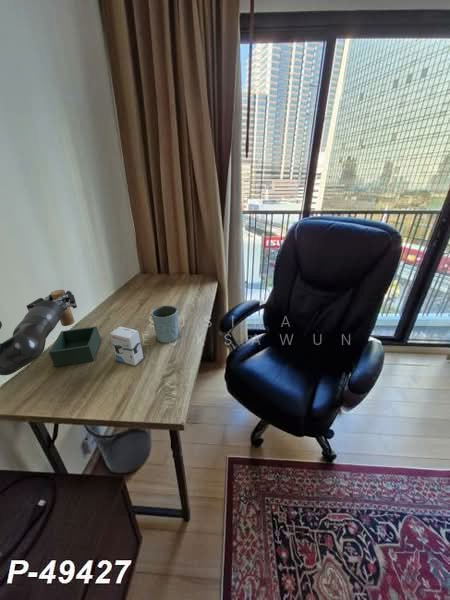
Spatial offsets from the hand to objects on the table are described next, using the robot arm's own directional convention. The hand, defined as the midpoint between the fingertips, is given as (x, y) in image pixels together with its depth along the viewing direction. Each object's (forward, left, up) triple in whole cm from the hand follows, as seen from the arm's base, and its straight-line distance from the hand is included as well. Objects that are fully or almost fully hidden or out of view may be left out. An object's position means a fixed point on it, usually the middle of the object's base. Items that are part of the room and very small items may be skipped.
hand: (62, 294), depth 86 cm
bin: (0, -2, -23) cm, 23 cm away
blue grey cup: (+33, 0, -23) cm, 41 cm away
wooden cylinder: (0, -3, -10) cm, 10 cm away
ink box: (+19, -11, -23) cm, 32 cm away
